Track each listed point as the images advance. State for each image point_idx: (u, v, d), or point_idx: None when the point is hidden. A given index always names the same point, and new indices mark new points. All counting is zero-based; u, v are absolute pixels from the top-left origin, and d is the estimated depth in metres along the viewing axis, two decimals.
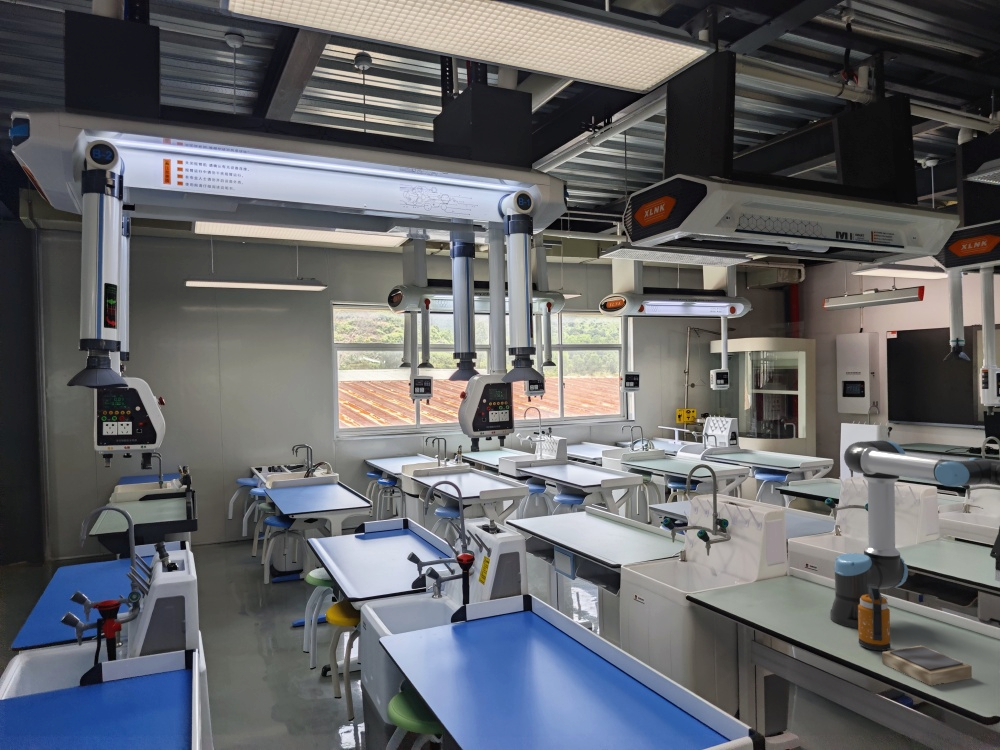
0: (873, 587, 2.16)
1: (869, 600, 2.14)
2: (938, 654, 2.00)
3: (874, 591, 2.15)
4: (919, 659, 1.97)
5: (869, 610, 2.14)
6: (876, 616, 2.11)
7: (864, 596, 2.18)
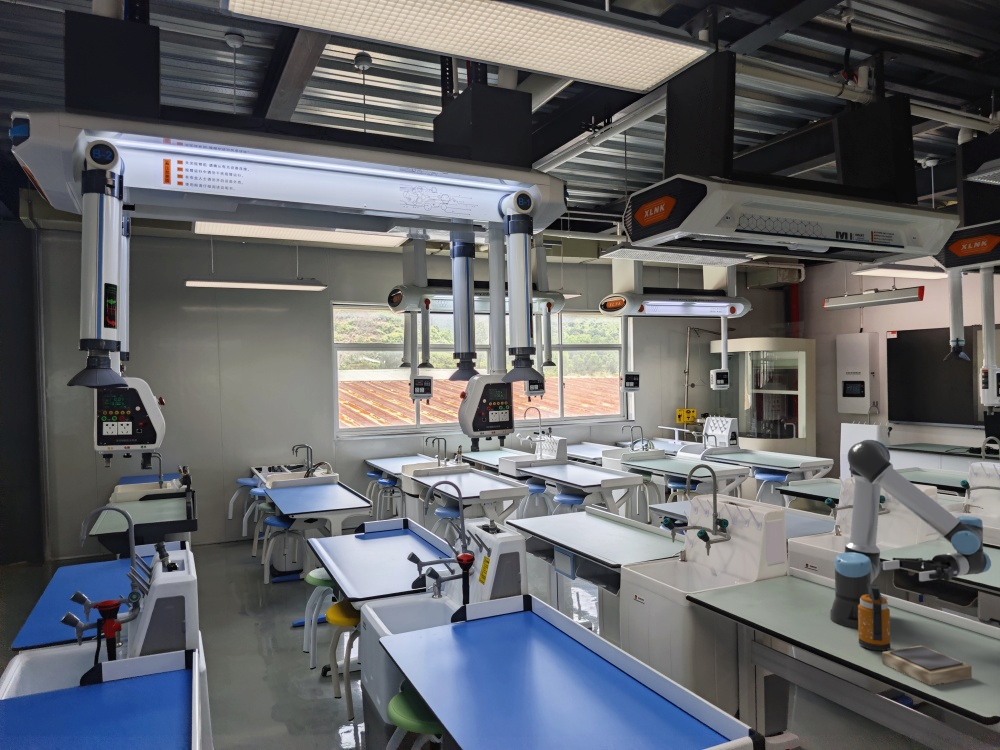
0: (873, 587, 2.16)
1: (869, 600, 2.14)
2: (938, 654, 2.00)
3: (874, 591, 2.15)
4: (919, 659, 1.97)
5: (869, 610, 2.14)
6: (876, 616, 2.11)
7: (864, 596, 2.18)
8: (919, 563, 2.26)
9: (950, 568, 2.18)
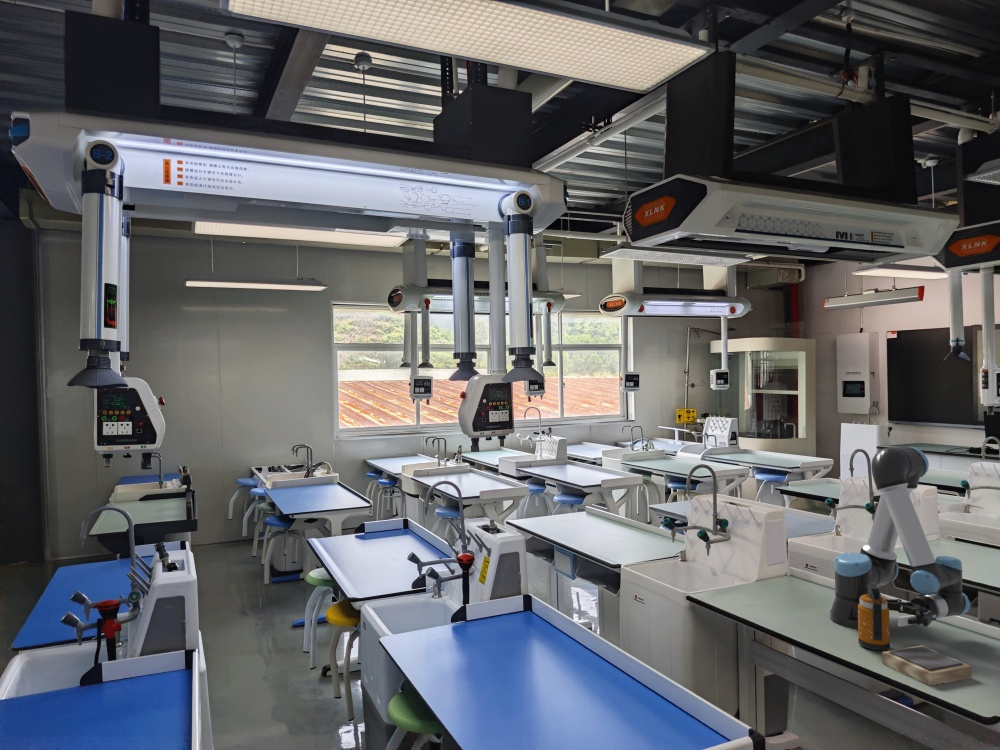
0: (873, 587, 2.16)
1: (869, 600, 2.14)
2: (938, 654, 2.00)
3: (874, 591, 2.15)
4: (919, 659, 1.97)
5: (868, 610, 2.13)
6: (876, 616, 2.11)
7: (864, 596, 2.17)
8: (898, 605, 2.21)
9: (929, 612, 2.13)
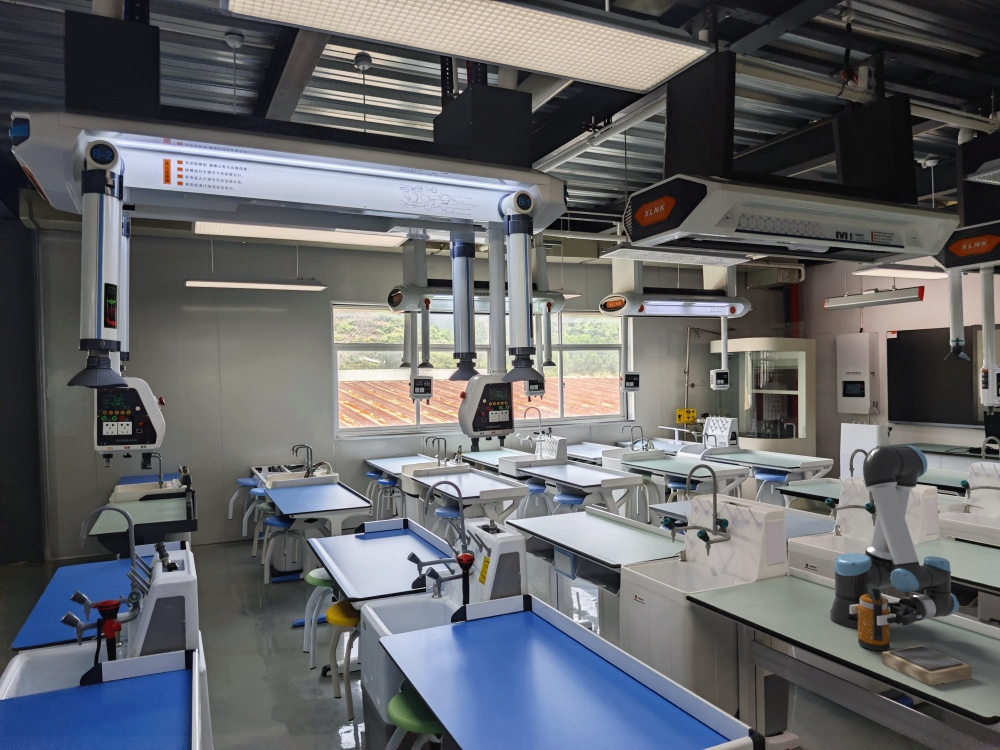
0: (873, 587, 2.15)
1: (869, 600, 2.14)
2: (938, 654, 2.00)
3: (874, 591, 2.14)
4: (919, 659, 1.97)
5: (869, 610, 2.13)
6: (876, 616, 2.11)
7: (864, 596, 2.17)
8: None
9: (914, 612, 2.13)
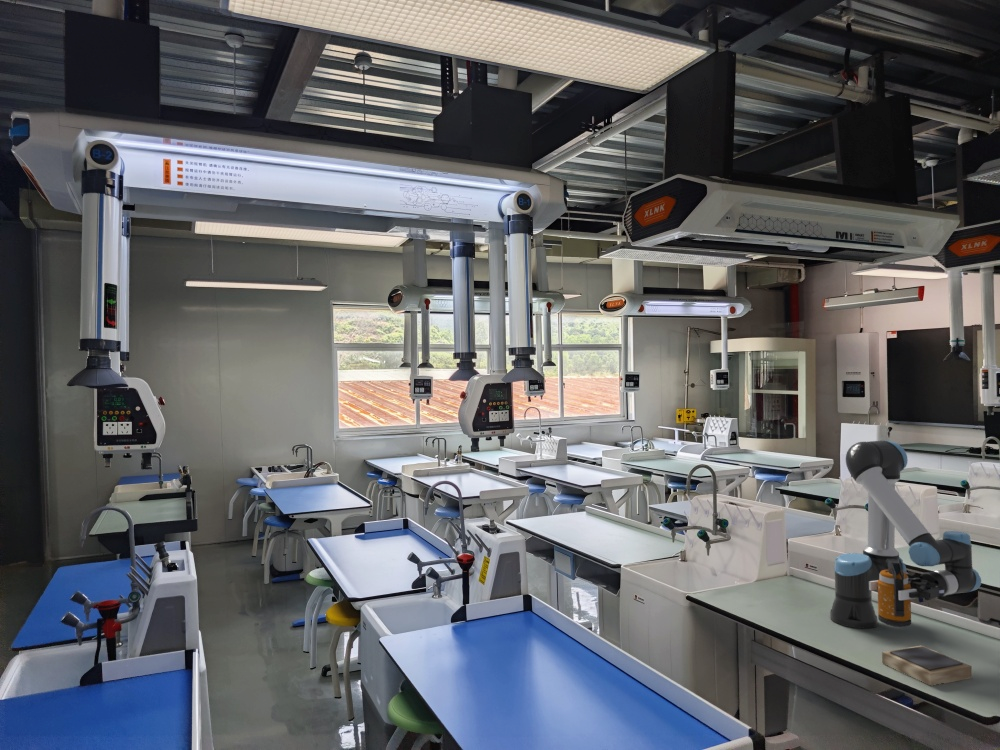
0: (893, 562, 2.08)
1: (890, 575, 2.07)
2: (938, 654, 2.00)
3: (894, 566, 2.07)
4: (919, 659, 1.97)
5: (890, 585, 2.06)
6: None
7: (884, 571, 2.10)
8: None
9: (936, 587, 2.06)
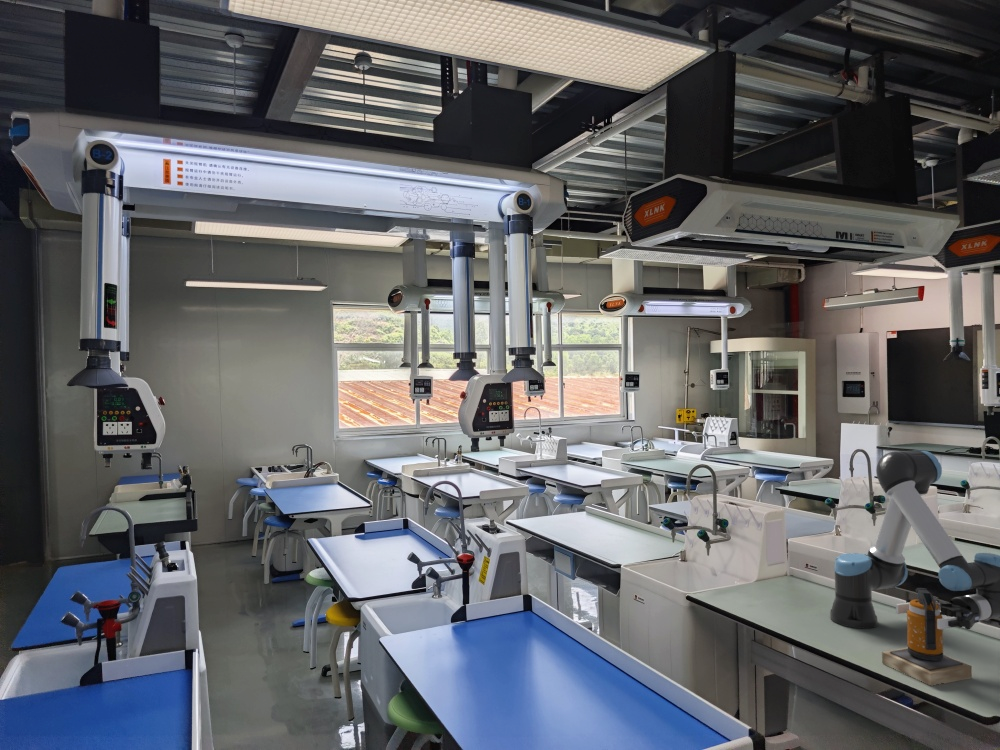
0: (924, 591, 1.98)
1: (920, 606, 1.97)
2: None
3: (925, 596, 1.97)
4: (919, 659, 1.97)
5: (920, 616, 1.96)
6: (929, 623, 1.94)
7: (914, 601, 2.00)
8: None
9: (971, 613, 1.96)
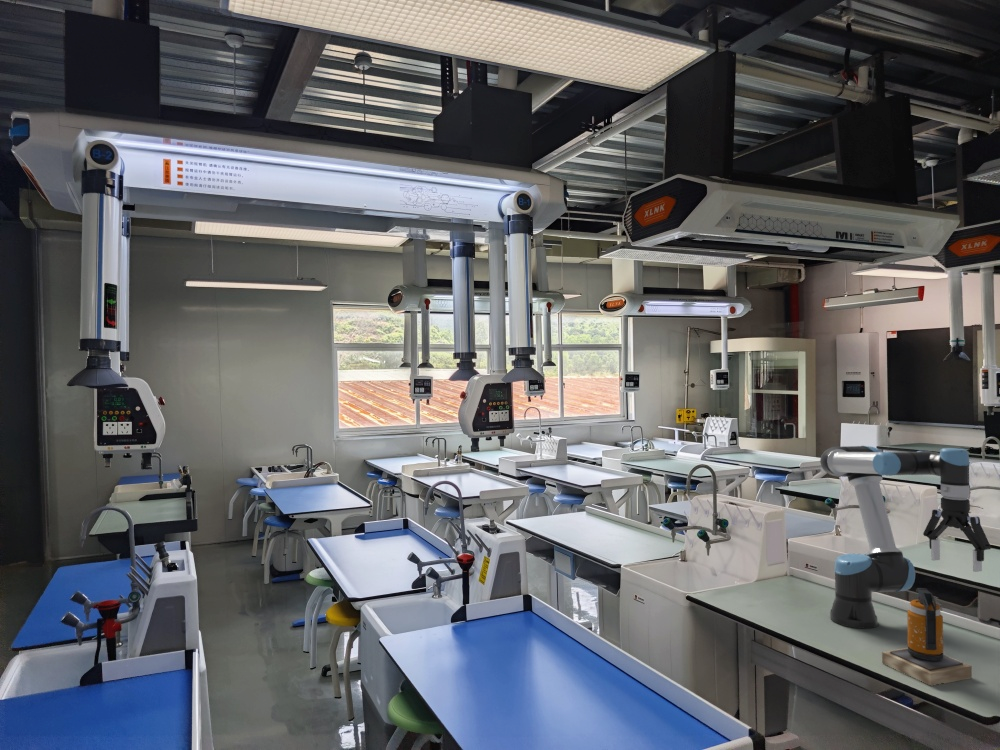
0: (924, 592, 1.98)
1: (921, 606, 1.97)
2: None
3: (926, 596, 1.97)
4: (919, 659, 1.97)
5: (921, 617, 1.96)
6: (929, 623, 1.94)
7: (914, 601, 2.00)
8: None
9: (939, 516, 2.14)
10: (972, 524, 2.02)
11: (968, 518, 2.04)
